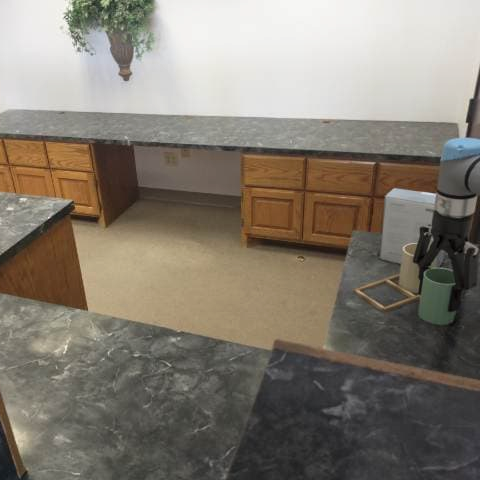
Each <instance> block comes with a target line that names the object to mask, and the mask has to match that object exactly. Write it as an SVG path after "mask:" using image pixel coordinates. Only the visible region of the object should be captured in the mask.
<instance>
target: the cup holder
mask: <svg viewBox="0 0 480 480" xmlns="http://www.w3.org/2000/svg"><path fill="white" fill-rule="evenodd" d="M399 275H400V273H396V274H394V275H391V276H388V277H385V278H382V279H380V280H377V281H374V282H371V283H368V284H365V285H362V286H360V287H357V288H354V289H353V294H355V295H356V296H358V297H359V298H361V299H363V300H364V301H365V302H367V303H369V304H370V305H372V306H373V307H375V308H376V309H377V310H379V311H381V312H382V313H384V314H385V313H387V312H390V311H392V310H395V309H398V308H400V307H403V306H406V305H409V304H412V303H414V302H416V301H420V295H419V294H416V295H415V293H411V292H409V291H407V290H405V289H403V288H402V287H400V286H399V284H397V283H395V282H393V281H396V280H399ZM385 284H386V285H387V286H389V287H391V288H393V289H394V290H396V291H397V292H399V293H401V294H402V295H404V296H406V297H407V298H405V299H402V300H400V301H397V302H395V303H392V304H389V305H386V306H384V305H382V304H381V303H380V302H378V301H376V300H374V299H373V298H372V297H370V296H369V295H367V294H365V293H364V292H365V291H367V290H371V289H375V288H376V287H377V288H378V287H380V286H383V285H385Z"/></svg>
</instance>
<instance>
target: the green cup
mask: <svg viewBox="0 0 480 480" xmlns="http://www.w3.org/2000/svg"><path fill="white" fill-rule="evenodd" d="M455 285H456V284H455V278H454V273H453V269H450V268H446V267H439V268H438V267H437V268H430V269H427V270H426V271H425V272H424V274H423V280H422V287H421V294H420V299H419V300H418V308H417V316H419V318H420V319H421V320H422V321H424V322H426V323H429V324H433V325H439V326H444V325H449V324H453V322H454V321H455V319H456V314H457V310H456V311H454V312H451V313H450V312H449V311H448V307H449V302H450V296H451V291H452V286H455Z"/></svg>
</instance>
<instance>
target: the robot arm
mask: <svg viewBox="0 0 480 480" xmlns="http://www.w3.org/2000/svg"><path fill="white" fill-rule="evenodd" d="M436 185H437V186H436V193H435V194H436V198H435V205H434V209H435V210H434V211H433V217H432V224H431V225H432V226H431V225H430V224H429V225H425V226H422V227H420V237H419V240H418V243H417V247H416V250H415V254H414V257H413V263H415V264H418V267H419V275H418V279H419V280H420V284H419V291H418V293H417V295H420V294H421V287H422V280H423V274H424V272H425V271H426V270H427V269H430V268H431V267H430V268H428V267H429V266H432V265H431V264H432V262H433V261H434V259H435V258H436V256H437V255H438V253H439V252H440V251H441V250H444V253H447V257H448V259H449V260H450V262H451V263H450V264H451V267H452V270H453V273H454V278H455V284H456V285H455V286H452V291H451V296H450V302H449V307H448V311H449V312H450V313H451V312H454V311H456V312H457V311H459V310H461V309H460V308H461V304H462V303H461V302H462V301H463V300H465V299H466V294H467V291H469V290H473V289H474V288H477V287H478V274H479V273H478V272H479V270H478V269H479V255H480V245H479V244H477V245H474V244H473V243H472V242H470V239H469V233H470V232H471V230H472V225H473V220H474V213H475V210H476V205H477V199H478V196H480V139H479V138H474V137H456V138H451V139H449V140H447V141H446V142H445V143H444V145H443V148H442V152H441V157H440V159H439V171H438V177H437V184H436ZM432 236H433V239H434V240H433V242H432V243H431V245H430V246H429V243H430V240H431V237H432ZM428 247H430V248H429V250H428ZM427 250H428V251H427Z"/></svg>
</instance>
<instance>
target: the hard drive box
mask: <svg viewBox="0 0 480 480" xmlns="http://www.w3.org/2000/svg"><path fill="white" fill-rule="evenodd" d="M435 198H436V193H432V192H427V191H420V190H419V191H418V190H409V189H403V188H397V187H396V188H395V187H394V188H392V190H390V191H389V192H388V193H386V195H384V200H383V213H382V224H381V225H382V226H381V234H380V235H381V236H380V248H379V260H383V261H385V262H390V263H394V264H400V265H401V258H402V250H403V247H404V246H405V245H407V244H410V243H418V240H419V237H420V227H422V226H425V225H429V224H430V225H431V224H432V217H433V211H434V210H435V209H434V205H435ZM431 226H432V225H431ZM433 240H434V239H433V236H432V237H431V240H430V243H429V245H431V243H432V242H433ZM444 257H445V251H444V250H441V251H440V252H439V253H438V255H437V256H436V261H435V268H437V267H438V268H441V265H442V264H443V262H444V259H445V258H444Z"/></svg>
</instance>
